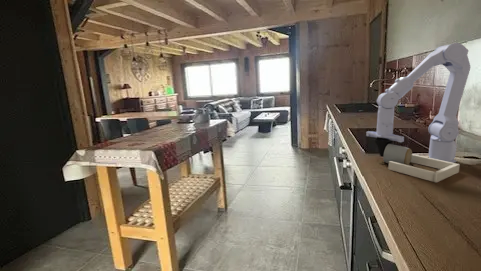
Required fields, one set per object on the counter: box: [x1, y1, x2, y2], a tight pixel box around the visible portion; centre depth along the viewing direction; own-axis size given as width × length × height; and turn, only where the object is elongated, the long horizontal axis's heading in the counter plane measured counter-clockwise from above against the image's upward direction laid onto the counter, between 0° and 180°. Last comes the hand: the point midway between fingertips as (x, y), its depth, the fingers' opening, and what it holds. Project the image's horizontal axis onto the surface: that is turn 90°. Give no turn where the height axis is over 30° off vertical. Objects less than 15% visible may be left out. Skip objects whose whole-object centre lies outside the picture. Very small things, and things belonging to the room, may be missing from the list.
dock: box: [387, 153, 460, 183], centre depth 95 cm, size 15×16×3 cm
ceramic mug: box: [382, 143, 413, 166], centre depth 103 cm, size 11×8×8 cm
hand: (382, 156), depth 107 cm, fingers closed
